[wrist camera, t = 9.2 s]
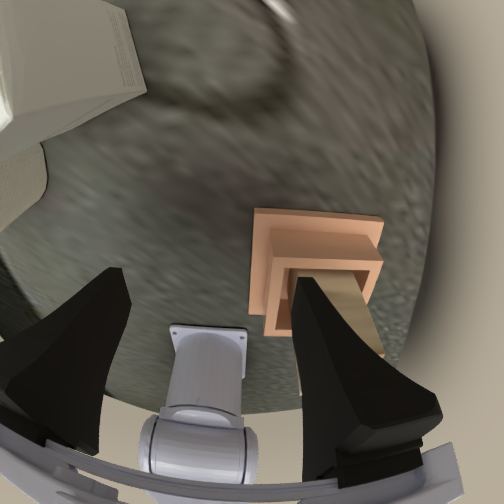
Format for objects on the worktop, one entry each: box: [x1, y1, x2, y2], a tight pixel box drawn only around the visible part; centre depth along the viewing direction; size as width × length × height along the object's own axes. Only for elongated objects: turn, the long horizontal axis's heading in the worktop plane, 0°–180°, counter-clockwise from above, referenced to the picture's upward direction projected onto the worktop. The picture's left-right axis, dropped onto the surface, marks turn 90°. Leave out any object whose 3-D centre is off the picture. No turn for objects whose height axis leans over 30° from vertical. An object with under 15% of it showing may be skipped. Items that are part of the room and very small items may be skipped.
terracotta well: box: [249, 208, 384, 336], centre depth 21 cm, size 10×10×4 cm
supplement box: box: [0, 0, 147, 162], centre depth 9 cm, size 7×7×13 cm
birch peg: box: [287, 268, 385, 395], centre depth 18 cm, size 4×4×10 cm
